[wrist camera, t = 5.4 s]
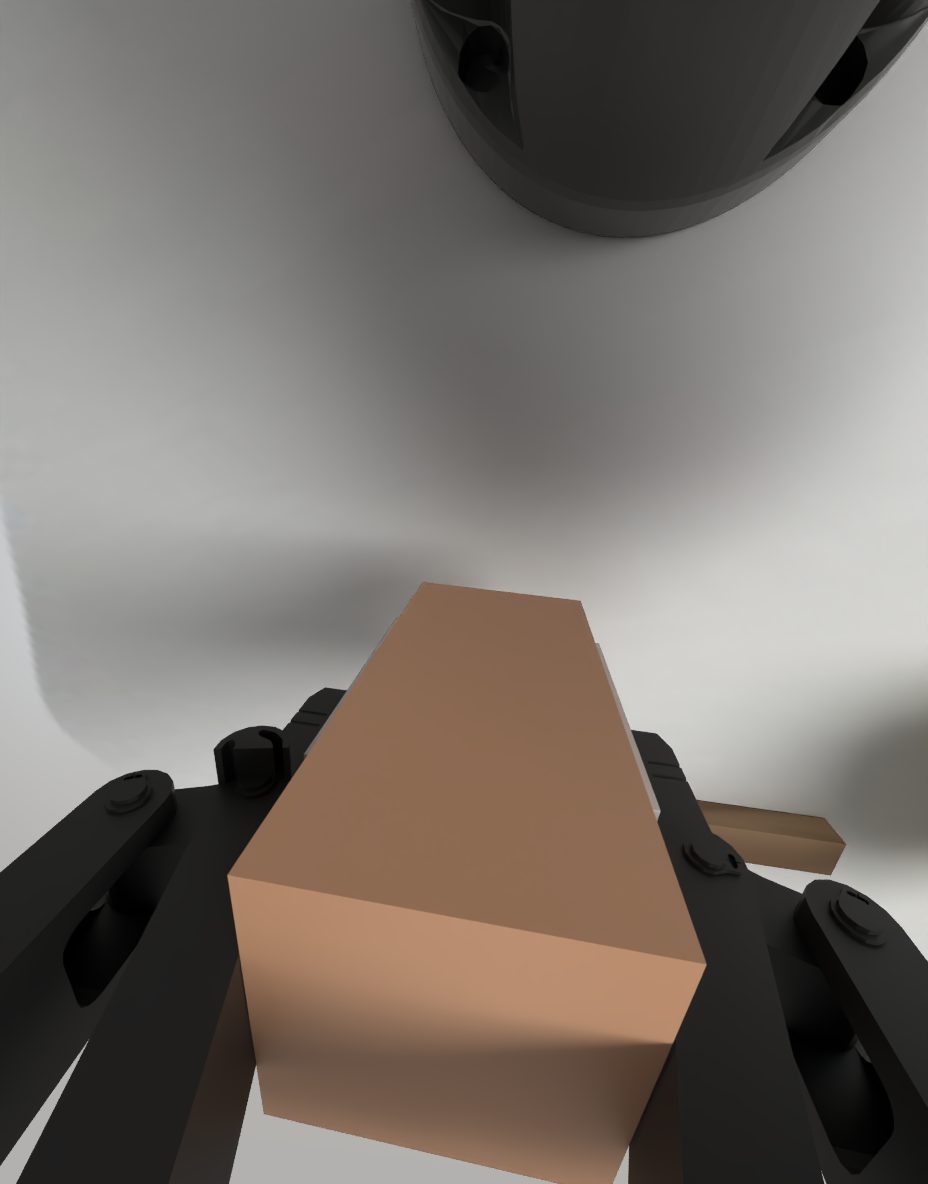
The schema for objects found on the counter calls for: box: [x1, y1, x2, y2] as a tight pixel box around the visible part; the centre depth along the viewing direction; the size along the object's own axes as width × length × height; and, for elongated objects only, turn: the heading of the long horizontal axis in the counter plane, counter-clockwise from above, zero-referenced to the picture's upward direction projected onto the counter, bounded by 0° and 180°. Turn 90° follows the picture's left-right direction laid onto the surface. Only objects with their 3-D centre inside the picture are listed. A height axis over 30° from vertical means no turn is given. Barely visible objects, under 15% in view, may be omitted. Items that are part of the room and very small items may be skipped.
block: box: [227, 582, 707, 1184], centre depth 10 cm, size 5×5×10 cm
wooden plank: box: [697, 800, 846, 875], centre depth 22 cm, size 2×14×2 cm, turn 85°
